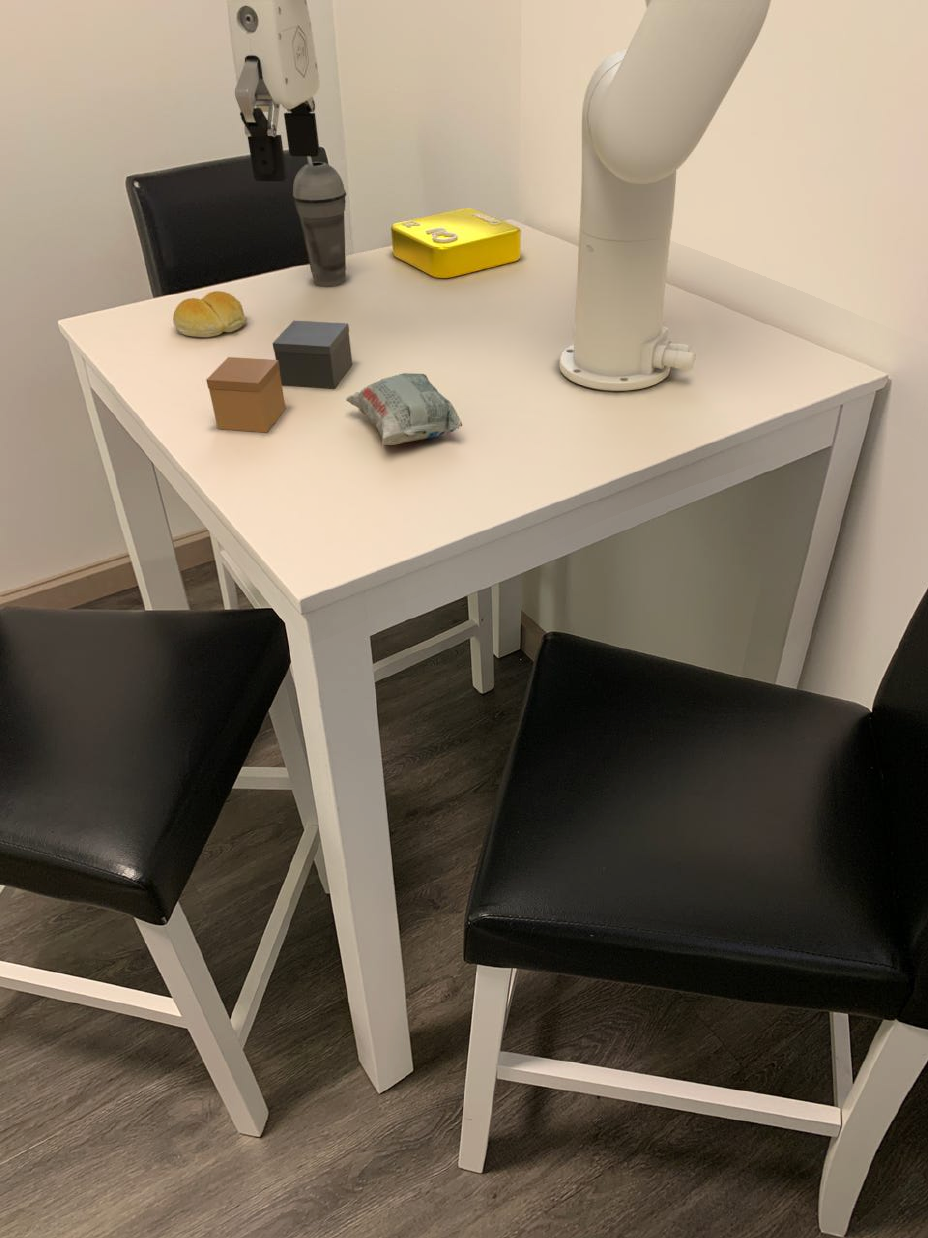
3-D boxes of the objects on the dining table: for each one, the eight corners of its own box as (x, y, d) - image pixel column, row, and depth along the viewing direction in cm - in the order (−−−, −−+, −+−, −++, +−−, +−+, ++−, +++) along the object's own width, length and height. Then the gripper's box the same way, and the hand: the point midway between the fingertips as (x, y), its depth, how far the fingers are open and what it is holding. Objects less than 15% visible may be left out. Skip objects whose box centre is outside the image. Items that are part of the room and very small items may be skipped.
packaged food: (384, 464, 92) (380, 418, 88) (347, 414, 100) (342, 371, 97) (465, 446, 94) (464, 400, 91) (422, 399, 103) (420, 356, 100)
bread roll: (168, 324, 122) (161, 294, 119) (233, 309, 125) (228, 279, 123) (187, 345, 116) (179, 313, 114) (255, 329, 119) (249, 298, 117)
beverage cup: (352, 289, 130) (335, 130, 117) (300, 290, 130) (278, 132, 117) (357, 271, 135) (342, 118, 123) (308, 272, 136) (287, 119, 123)
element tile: (526, 259, 137) (526, 225, 134) (439, 281, 131) (438, 246, 128) (470, 234, 147) (469, 202, 144) (387, 253, 141) (385, 220, 138)
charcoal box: (353, 364, 110) (348, 323, 107) (334, 388, 105) (329, 346, 102) (299, 360, 111) (293, 320, 108) (279, 385, 106) (272, 343, 103)
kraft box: (286, 408, 102) (278, 359, 98) (267, 433, 97) (258, 383, 94) (237, 404, 103) (228, 356, 99) (216, 429, 98) (205, 379, 95)
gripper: (263, -31, 76) (294, 192, 87) (330, -48, 89) (349, 147, 100) (179, -29, 78) (219, 190, 88) (257, -47, 91) (283, 146, 101)
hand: (288, 167), depth 94 cm, fingers open, 9 cm apart
